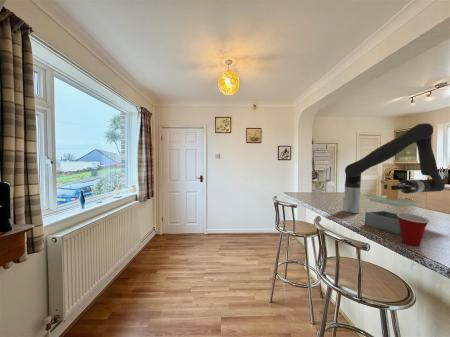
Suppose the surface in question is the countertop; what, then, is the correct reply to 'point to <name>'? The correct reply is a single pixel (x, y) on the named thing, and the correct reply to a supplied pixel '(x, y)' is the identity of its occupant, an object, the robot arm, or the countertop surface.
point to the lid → (393, 197)
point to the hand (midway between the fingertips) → (388, 187)
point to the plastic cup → (412, 228)
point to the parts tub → (383, 221)
